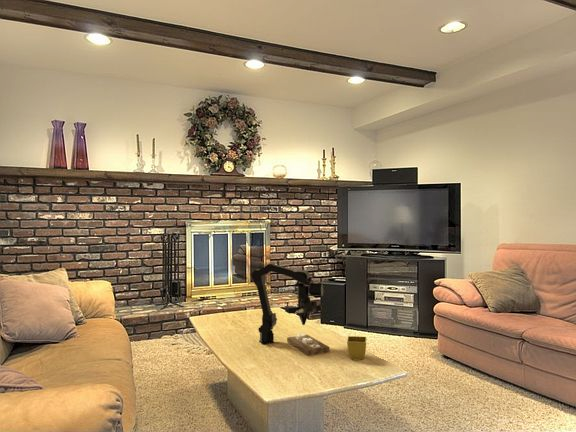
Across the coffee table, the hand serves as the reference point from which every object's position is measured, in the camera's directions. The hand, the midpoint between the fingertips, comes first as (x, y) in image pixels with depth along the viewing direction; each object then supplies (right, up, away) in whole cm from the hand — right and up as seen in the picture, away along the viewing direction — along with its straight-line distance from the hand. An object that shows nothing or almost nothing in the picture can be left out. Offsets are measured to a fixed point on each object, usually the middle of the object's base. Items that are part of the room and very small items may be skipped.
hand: (303, 324), depth 218 cm
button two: (+2, -9, -3) cm, 10 cm away
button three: (+5, -10, -11) cm, 16 cm away
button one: (-1, -9, +5) cm, 10 cm away
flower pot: (+24, -10, -22) cm, 35 cm away
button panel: (+2, -11, -3) cm, 11 cm away
